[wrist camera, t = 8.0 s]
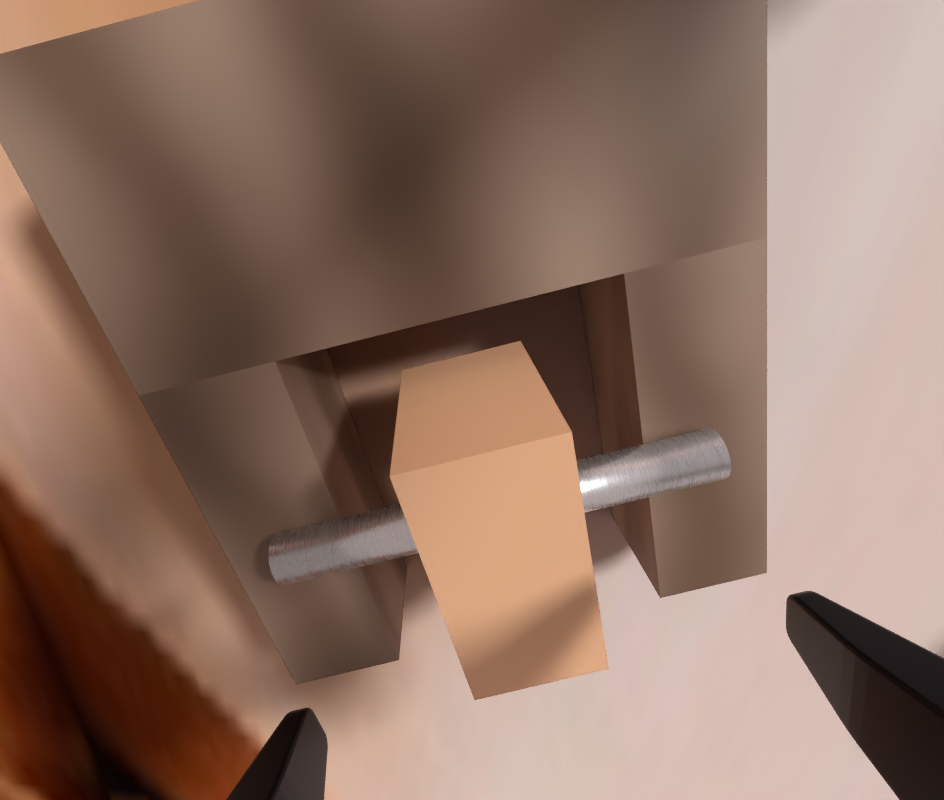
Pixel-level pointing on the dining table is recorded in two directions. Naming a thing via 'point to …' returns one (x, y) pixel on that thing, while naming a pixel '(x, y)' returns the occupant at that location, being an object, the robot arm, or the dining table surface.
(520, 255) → the u-shaped stone cradle
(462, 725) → the dining table surface
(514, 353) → the wooden building block
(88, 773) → the dining table surface
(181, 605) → the dining table surface
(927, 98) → the dining table surface
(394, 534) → the metal rod
